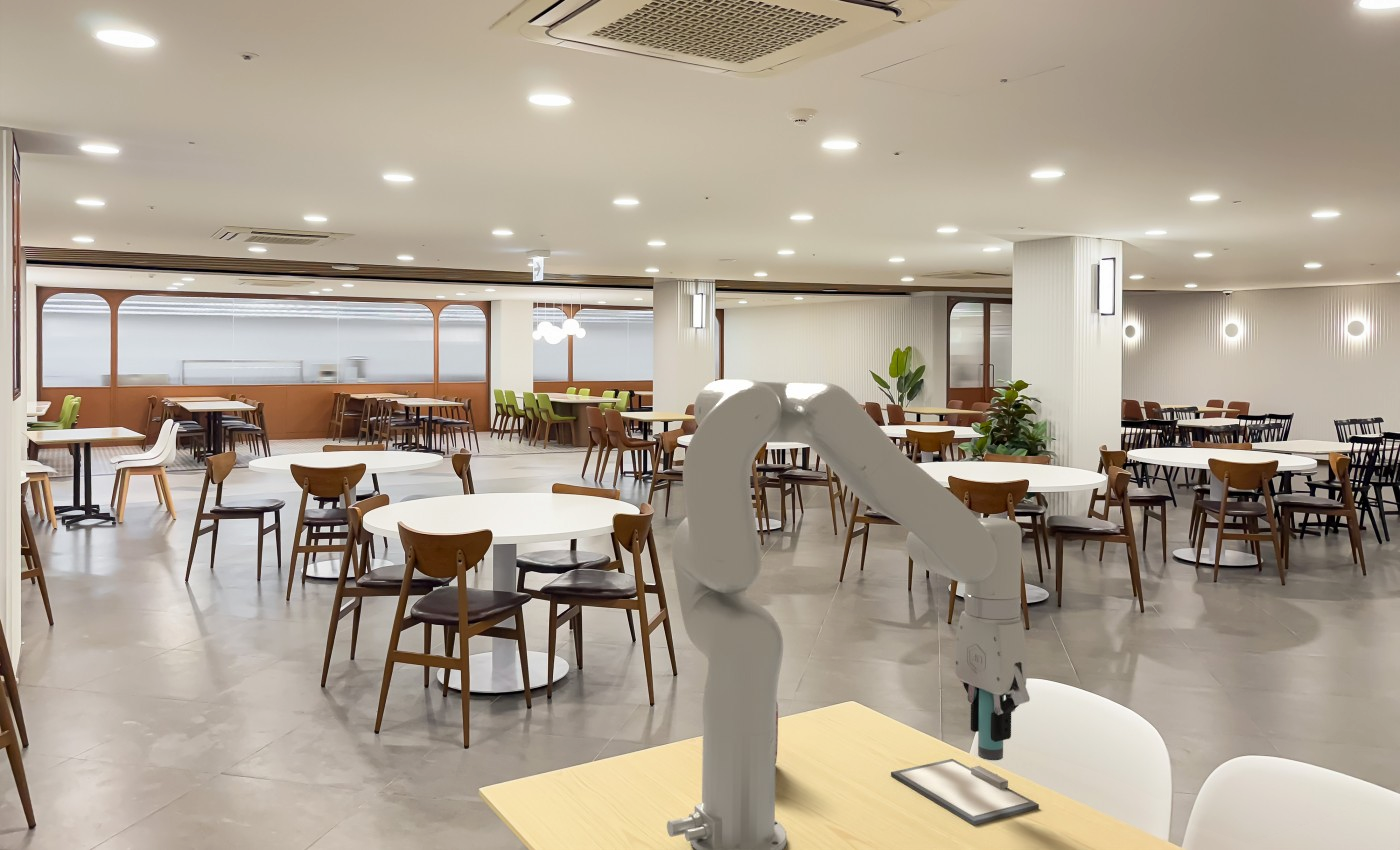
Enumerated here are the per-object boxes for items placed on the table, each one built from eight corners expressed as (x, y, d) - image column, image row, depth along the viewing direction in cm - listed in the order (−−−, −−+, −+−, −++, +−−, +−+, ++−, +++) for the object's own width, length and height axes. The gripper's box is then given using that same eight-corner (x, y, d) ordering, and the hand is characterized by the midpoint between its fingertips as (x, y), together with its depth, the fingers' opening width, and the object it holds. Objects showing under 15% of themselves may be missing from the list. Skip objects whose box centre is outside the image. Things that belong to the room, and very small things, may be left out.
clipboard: (973, 825, 133) (973, 813, 133) (890, 775, 149) (891, 764, 149) (1038, 808, 139) (1039, 796, 139) (952, 762, 155) (952, 751, 155)
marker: (989, 762, 137) (991, 677, 136) (972, 753, 140) (973, 670, 140) (1008, 757, 139) (1010, 674, 138) (991, 749, 142) (992, 667, 141)
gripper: (932, 597, 144) (931, 720, 145) (1015, 623, 129) (1013, 760, 130) (972, 592, 147) (970, 712, 148) (1057, 616, 133) (1054, 750, 134)
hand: (990, 733), depth 139 cm, fingers closed on marker, 3 cm apart
